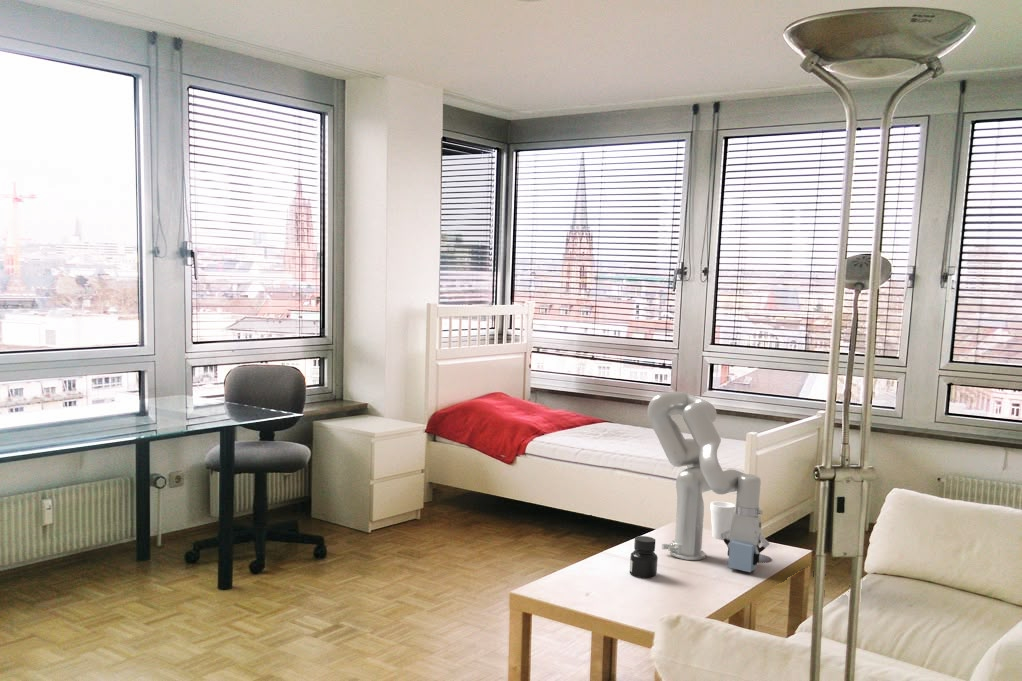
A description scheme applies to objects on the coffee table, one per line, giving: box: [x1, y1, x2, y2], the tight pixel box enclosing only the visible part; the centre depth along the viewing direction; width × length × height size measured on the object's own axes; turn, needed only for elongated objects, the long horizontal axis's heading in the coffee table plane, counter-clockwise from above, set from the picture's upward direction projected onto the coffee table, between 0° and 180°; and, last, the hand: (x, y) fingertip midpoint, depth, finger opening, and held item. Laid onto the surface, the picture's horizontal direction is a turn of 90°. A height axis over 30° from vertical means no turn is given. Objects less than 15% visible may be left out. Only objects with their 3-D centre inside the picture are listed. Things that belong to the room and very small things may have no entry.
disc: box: [758, 553, 773, 564], centre depth 306 cm, size 10×10×1 cm
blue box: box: [727, 540, 760, 573], centre depth 291 cm, size 8×8×9 cm
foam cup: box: [709, 500, 736, 540], centre depth 331 cm, size 10×9×13 cm
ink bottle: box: [629, 535, 658, 579], centre depth 282 cm, size 10×9×12 cm
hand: (743, 561), depth 291 cm, fingers closed on blue box, 7 cm apart
